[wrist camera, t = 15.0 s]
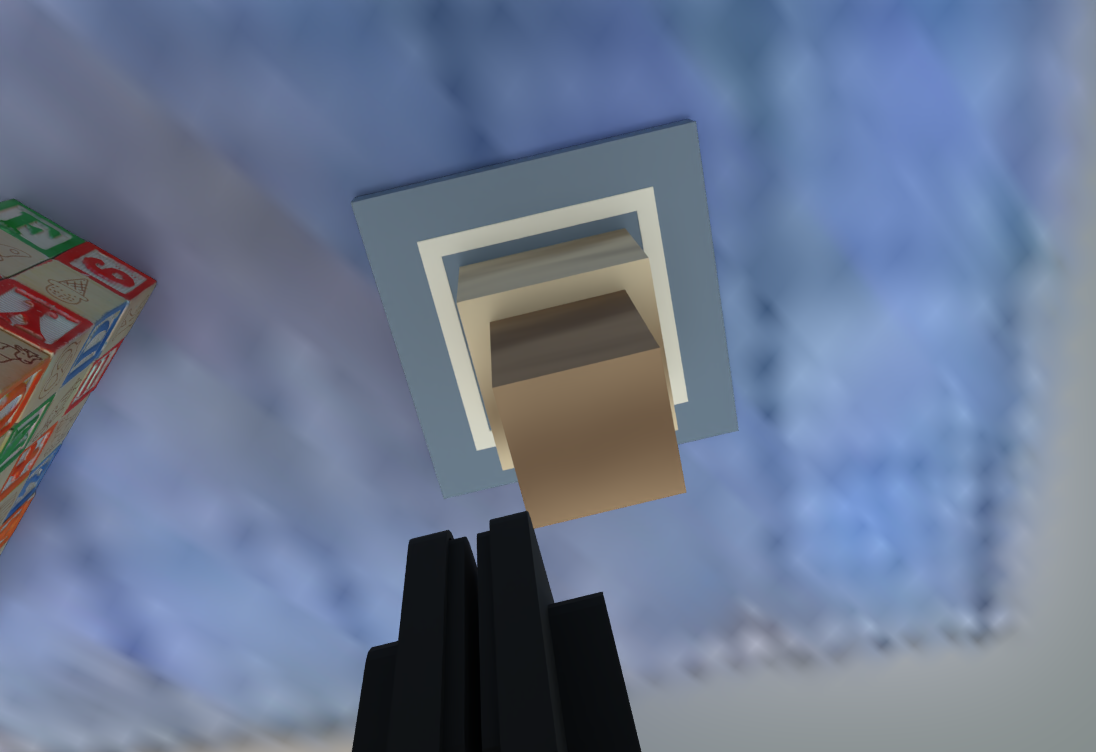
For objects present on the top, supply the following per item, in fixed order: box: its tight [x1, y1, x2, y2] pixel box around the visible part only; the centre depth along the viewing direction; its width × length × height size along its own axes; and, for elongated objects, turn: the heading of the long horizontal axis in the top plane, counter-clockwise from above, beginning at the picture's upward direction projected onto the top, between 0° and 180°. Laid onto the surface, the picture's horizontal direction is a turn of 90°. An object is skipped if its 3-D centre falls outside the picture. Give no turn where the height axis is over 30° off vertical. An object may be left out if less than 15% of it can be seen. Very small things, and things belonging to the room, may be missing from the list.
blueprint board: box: [351, 119, 739, 499], centre depth 35 cm, size 14×14×1 cm
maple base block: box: [456, 228, 678, 470], centre depth 32 cm, size 7×7×5 cm
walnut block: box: [490, 290, 686, 529], centre depth 27 cm, size 5×5×6 cm
